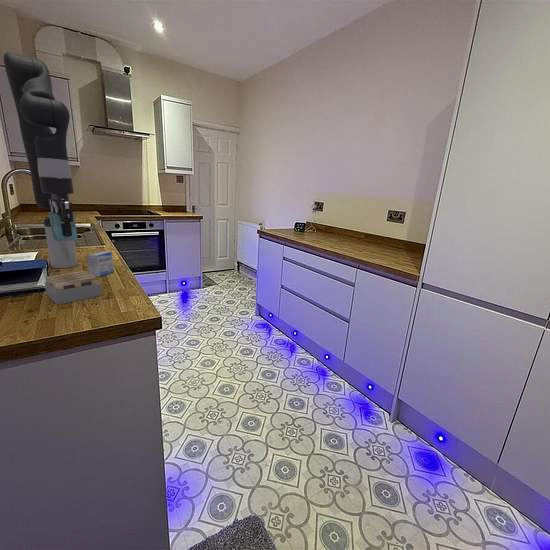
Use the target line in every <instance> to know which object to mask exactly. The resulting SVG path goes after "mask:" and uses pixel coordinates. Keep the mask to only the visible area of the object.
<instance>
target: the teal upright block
mask: <svg viewBox="0 0 550 550" xmlns="http://www.w3.org/2000/svg"><path fill="white" fill-rule="evenodd" d="M48 217H50V223H51V229H52V235H53V239H54V240H56V241H58V242H59V241H72V240H74V241H78V234H77V227H76V226H77V225H76V220H75V219H76V218H75V213H74V212H73V222H71V230H72V236H69V237H64V236H63V233H62V227H61V223H60V217H59V216H58V215H57V214H56V213H52V212H51V211H50V212H48ZM65 218H68V217H67V216H65Z"/></svg>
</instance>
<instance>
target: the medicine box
mask: <svg viewBox="0 0 550 550" xmlns="http://www.w3.org/2000/svg"><path fill="white" fill-rule="evenodd" d="M87 263H88V270H89V273H90V274H92V275H94V276H95V277H97V278H100V277H103V275H104V276H106V274H107V275H109V273H110V274H112V273H114V272H115V271H114V270H115V269H114V262H113V252H112V251H106V250H102V251H98V252H95V253H90V254H87Z"/></svg>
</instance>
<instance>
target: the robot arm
mask: <svg viewBox="0 0 550 550" xmlns="http://www.w3.org/2000/svg"><path fill="white" fill-rule="evenodd" d="M3 64H4V69H5V73H6V76H7V79H8V84H9V87H10V90H11V91H10V92H11V93H12V98H13V101H14V104H15V109H16V113H17V117H18V118H17V119H18V123H19V129H20V134H21V139H22V143H23V148H24V150H25V151H24V152H25V155H26V158H27V163H28V167H29V171H30V177H31V184H32V191H33V195H34V200H35V204H36V206H37V207H38V208H40V209H44V210H47V209H48V210H50V212H52V213H56V214H57V215H58V216H59V217H60V223H61V227H62V233H63V236H64V237H69V236H72V230H71V222H73V213H74V212H73V203H72V201H70V199H69V198H70V197H69V195H73V194H74V185H73V179H72V177H73V176H72V170H71V166H70V163H69V157H68V149H67V135H68V129H69V125H70V124H69V123H70V119H71V118H70V111H69V108H68V107H67V106H66V104H65V103H64V102H62V101H60V100H56V98H55V95H54V93H53V86H52V84H53V83H52V78H51V73H50V69H49V68H48V66H47V65H46V63H45V62H44V61H43V60H41V59H39V58H36V57H32V56H27V55H22V54H19V53H13V52H8V51H7V52H5V53H4V54H3ZM51 128H53V129H55V132H54V133H53V131H52V129H51ZM65 216H67V217H68V218H65ZM43 225H44V231H45V237H46V242H47V243H46V244H47V248H48V254H49V260H50V266H51V268H54V269H67V268H74V267H76V266H78V258H77V251H76V244H75V243H76V242H75V240H72V241H59V242H58V241H56V240H54V239H53V235H52V229H51V223H50V217H49V216H48V217H46V218H44V219H43Z"/></svg>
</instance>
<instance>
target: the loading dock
mask: <svg viewBox="0 0 550 550" xmlns="http://www.w3.org/2000/svg"><path fill="white" fill-rule="evenodd" d="M44 286H45V287H44V288H45V294H46V295H47V296H48V297H49V298H50V300H52V301H53V302H54V304H56V305H57V306H58V305H63V304H67V303H68V304H69V303H73V302H77V301H78V302H79V301H81V300H82V301H83V300H86V299H92V298H96V297H101V296H102V295H103V293H102V287H101V283H100V282H98V281H97V284H94V285H91V284H90V283H88V282H83V283H81V287H78V288H75V287H73V286H72V285H66V286H63V287H64V290H61V291H57V290H56V289H54V288H53V287H52V286H51V285H50V284H49V283H48V282H47V281H46V282H45V281H44Z"/></svg>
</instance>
